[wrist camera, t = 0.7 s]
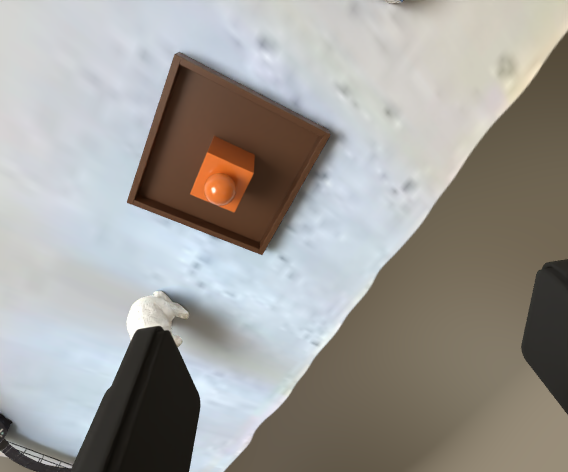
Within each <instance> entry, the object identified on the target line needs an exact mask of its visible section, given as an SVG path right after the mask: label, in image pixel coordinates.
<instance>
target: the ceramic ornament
mask: <svg viewBox="0 0 568 472" xmlns="http://www.w3.org/2000/svg"><path fill="white" fill-rule="evenodd" d="M254 163H255V155H254V154H252V153H250V152H248V151H245V150H243V149H241V148H239V147H237V146H235V145H233V144H230V143H228V142H226V141H224V140H222V139H220V138H218V137H216V136H214V137H213V139H212V142H211V144H210V146H209V149H208V151H207V154H206V156H205V159H204V161H203V163H202V166H201V168H200V171H199V173H198V175H197V178H196V180H195V183H194V185H193V188H192V190H191V192H190V194H191V195H193V196H195V197H198V198H200V199H203V200H205V201H208V202H210V203H212V204H215V205H217V206H220V207H222V208H224V209H227V210H229V211H232V212H235V211H236V209H237V207H238V205H239V203H240V201H241V199H242V197H243V195H244V193H245V191H246V189H247V186H248V184H249V182H250V180H251V178H252V176H253V174H254Z"/></svg>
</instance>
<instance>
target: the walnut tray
mask: <svg viewBox="0 0 568 472" xmlns="http://www.w3.org/2000/svg"><path fill="white" fill-rule="evenodd" d="M330 135H331V134H330V132H329V131H328V129H326V128H324V127H323V126H321V125H319V124H317V123H315V122H313V121H311V120H309V119H307V118H305V117H303V116H301V115H299V114H298V113H296V112H294V111H292V110H290V109H288V108H286V107H284V106H282V105H280V104H278V103H276V102H274V101H273V100H271V99H269V98H267V97H265V96H263V95H261V94H259V93H257V92H255V91H253V90H251V89H249V88H247V87H246V86H244V85H242V84H240V83H238V82H236V81H234V80H232V79H230V78H228V77H226V76H224V75H222V74H221V73H219V72H217V71H215V70H213V69H211V68H209V67H207V66H205V65H203V64H201V63H199V62H197V61H196V60H194V59H192V58H190V57H188V56H186V55H184V54H182V53H180V52H178V53H176V54H175V55H174V58H173V61H172V64H171V67H170V70H169V73H168V76H167V80H166V83H165V86H164V89H163V92H162V95H161V98H160V101H159V104H158V107H157V110H156V114H155V117H154V120H153V123H152V126H151V129H150V132H149V135H148V138H147V141H146V144H145V148H144V151H143V154H142V157H141V160H140V163H139V166H138V169H137V172H136V175H135V178H134V182H133V185H132V188H131V191H130V194H129V197H128V200H127V203H129V204H132V205H135V206H137V207H140V208H142V209H145V210H148V211H150V212H153V213H155V214H158V215H160V216H163V217H166V218H168V219H171V220H173V221H176V222H178V223H181V224H184V225H186V226H189V227H191V228H194V229H196V230H199V231H202V232H204V233H207V234H209V235H212V236H214V237H217V238H220V239H222V240H225V241H227V242H230V243H232V244H235V245H238V246H240V247H243V248H245V249H248V250H250V251H253V252H256V253H258V254H261V255H263V253H264V251H265V249H266V248H267V246H268V244H269V242H270V241H271V239H272V237H273V235H274V234H275V232H276V230H277V228H278V226H279V225H280V223H281V221H282V219H283V218H284V216H285V214H286V212H287V211H288V209H289V207H290V205H291V204H292V202H293V200H294V198H295V197H296V195H297V193H298V191H299V190H300V188H301V186H302V184H303V183H304V181H305V179H306V177H307V176H308V174H309V172H310V170H311V169H312V167H313V165H314V163H315V162H316V160H317V158H318V156H319V154H320V153H321V151H322V149H323V147H324V146H325V144H326V142H327V140H328V139H329V137H330ZM214 136H216V137H218V138H220V139H222V140H224V141H226V142H228V143H230V144H233V145H235V146H237V147H239V148H241V149H243V150H245V151H248V152H250V153H252V154H254V155H255V163H254V174H253V176H252V178H251V180H250V182H249V184H248V186H247V189H246V191H245V193H244V195H243V197H242V199H241V201H240V203H239V205H238V207H237V209H236V211H235V212H232V211H229V210H227V209H224V208H222V207H220V206H217V205H215V204H212V203H210V202H208V201H205V200H203V199H200V198H198V197H195V196H193V195H191V194H190V192H191V190H192V188H193V185H194V183H195V180H196V178H197V175H198V173H199V171H200V168H201V166H202V163H203V161H204V159H205V156H206V154H207V151H208V149H209V146H210V144H211V142H212V139H213V137H214Z"/></svg>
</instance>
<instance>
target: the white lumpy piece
mask: <svg viewBox="0 0 568 472" xmlns="http://www.w3.org/2000/svg"><path fill="white" fill-rule="evenodd" d="M174 317H180V318H183V319H187V318H188V317H189V313H188V312H187V311H186V310H185V309H184V308H183V307H182V306H181V305H180V304H178V303H174V302H172V301H171V299H170V298H169V297H168V296H167V295H166V294H165V293H163V292H161V291H155V292H154V294H153V296H152V295H149V296H144V297H142V298H140V299H138V300H137V301H136V302H135V303H134V304H133V305H132V307H131V309H130V312H129V315H128V318H127V330H128V332H129V333H130V335H129V336H130V338H131V340H132V337H133V335H134V333H135V331H136V330H138V329H142V328H148V327H154V326H161V327H162V328H163V329H164V331H165V330H169V331H170V333H171V335H172V337H173V339H174V341H175V343H176V345H177V347H179V346H180V345H181V344H182V339H181V338H180V336H177V335H173V334H172V328H171V325H172V320H173V319H174ZM130 342H131V341H130Z"/></svg>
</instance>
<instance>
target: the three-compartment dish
mask: <svg viewBox="0 0 568 472" xmlns="http://www.w3.org/2000/svg"><path fill="white" fill-rule="evenodd" d="M384 1H386V2H387V3H399V2H403V1H404V0H384Z"/></svg>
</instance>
